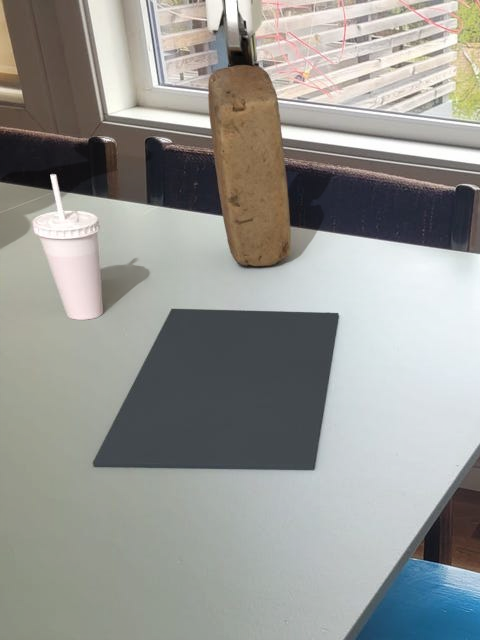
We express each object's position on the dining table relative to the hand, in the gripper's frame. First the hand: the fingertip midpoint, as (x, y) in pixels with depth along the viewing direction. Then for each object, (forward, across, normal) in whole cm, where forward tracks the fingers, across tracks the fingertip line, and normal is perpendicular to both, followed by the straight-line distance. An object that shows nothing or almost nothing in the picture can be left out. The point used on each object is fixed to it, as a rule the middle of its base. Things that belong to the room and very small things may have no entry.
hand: (247, 103), depth 113 cm
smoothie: (+17, +21, -16) cm, 31 cm away
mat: (+17, +37, +2) cm, 41 cm away
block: (+16, +1, 0) cm, 16 cm away
